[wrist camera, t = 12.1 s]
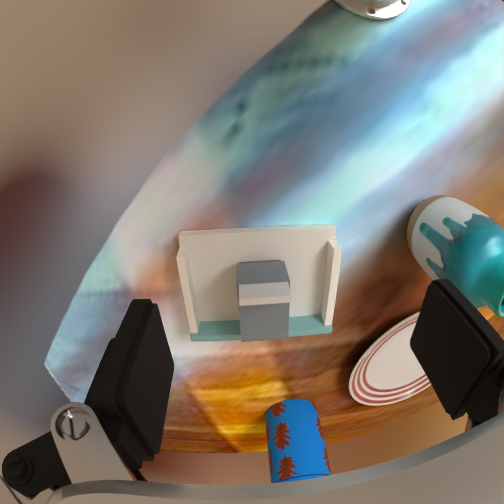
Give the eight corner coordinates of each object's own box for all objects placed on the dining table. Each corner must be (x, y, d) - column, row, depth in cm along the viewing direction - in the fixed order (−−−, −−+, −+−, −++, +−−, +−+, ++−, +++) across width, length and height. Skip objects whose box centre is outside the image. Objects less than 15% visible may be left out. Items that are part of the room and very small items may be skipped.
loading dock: (180, 231, 36) (173, 246, 32) (333, 223, 36) (344, 238, 32) (194, 320, 42) (191, 341, 38) (323, 312, 42) (331, 332, 38)
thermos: (322, 414, 56) (345, 514, 33) (278, 429, 58) (289, 527, 35) (305, 392, 51) (328, 510, 29) (255, 409, 53) (263, 523, 31)
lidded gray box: (236, 255, 36) (236, 299, 28) (281, 252, 36) (294, 295, 28) (240, 308, 39) (241, 356, 31) (281, 305, 40) (291, 353, 32)
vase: (382, 218, 36) (471, 302, 19) (436, 171, 33) (541, 225, 16) (412, 268, 40) (484, 353, 23) (460, 225, 37) (543, 292, 20)
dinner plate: (475, 334, 49) (482, 343, 46) (384, 407, 58) (388, 417, 55) (437, 265, 40) (448, 276, 37) (315, 369, 49) (319, 383, 46)
